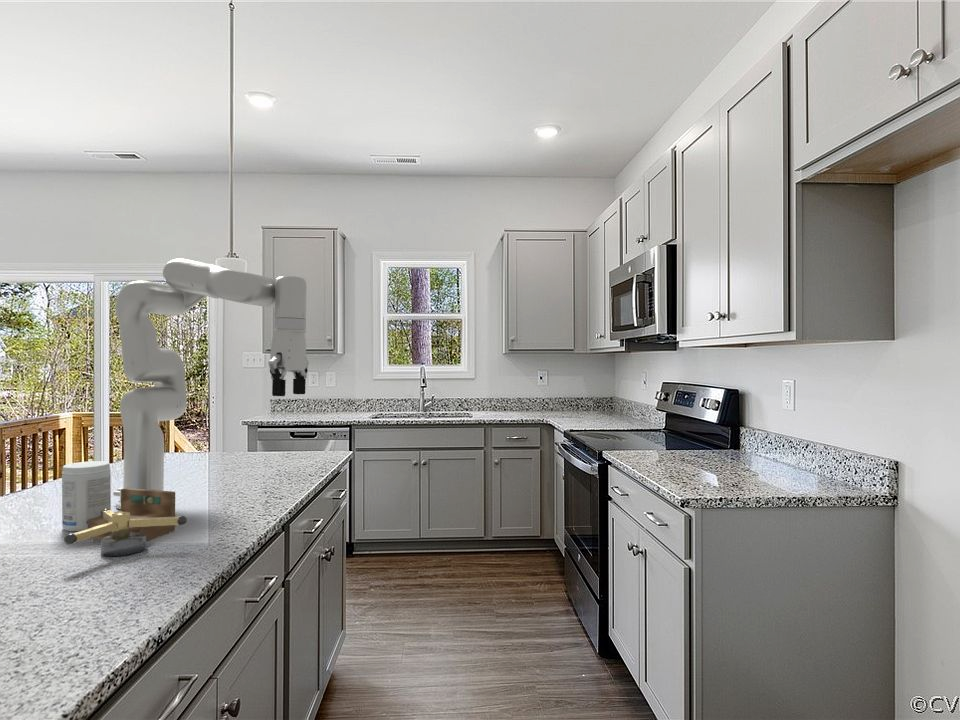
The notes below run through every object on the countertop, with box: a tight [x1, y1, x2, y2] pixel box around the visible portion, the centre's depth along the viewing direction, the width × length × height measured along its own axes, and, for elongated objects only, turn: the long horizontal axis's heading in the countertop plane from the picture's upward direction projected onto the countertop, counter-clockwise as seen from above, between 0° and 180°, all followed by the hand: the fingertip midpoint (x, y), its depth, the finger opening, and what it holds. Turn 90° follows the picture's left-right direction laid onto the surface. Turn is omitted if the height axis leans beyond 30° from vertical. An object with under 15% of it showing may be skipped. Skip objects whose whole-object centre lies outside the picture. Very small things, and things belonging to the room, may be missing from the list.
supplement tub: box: [61, 460, 112, 532], centre depth 142 cm, size 10×10×15 cm
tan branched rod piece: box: [63, 509, 188, 557], centre depth 122 cm, size 22×19×7 cm
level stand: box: [88, 487, 176, 542], centre depth 136 cm, size 14×10×9 cm
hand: (289, 395), depth 151 cm, fingers open, 9 cm apart
